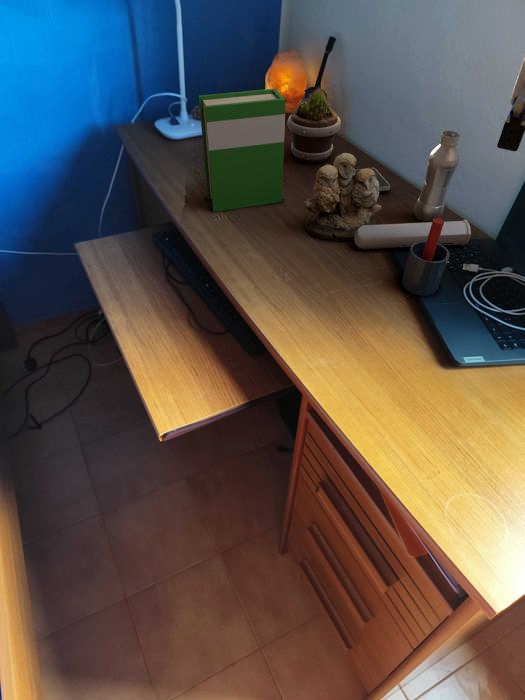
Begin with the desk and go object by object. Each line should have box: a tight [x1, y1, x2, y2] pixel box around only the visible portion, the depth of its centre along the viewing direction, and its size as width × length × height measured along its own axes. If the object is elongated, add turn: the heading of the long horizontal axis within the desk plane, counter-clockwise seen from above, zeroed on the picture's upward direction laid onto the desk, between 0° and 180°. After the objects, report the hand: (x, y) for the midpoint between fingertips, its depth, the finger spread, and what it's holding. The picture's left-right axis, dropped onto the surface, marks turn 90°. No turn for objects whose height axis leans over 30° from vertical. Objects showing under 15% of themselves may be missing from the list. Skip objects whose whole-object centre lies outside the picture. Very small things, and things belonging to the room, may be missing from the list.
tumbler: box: [401, 241, 450, 297], centre depth 92 cm, size 7×7×8 cm
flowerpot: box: [286, 85, 342, 164], centre depth 129 cm, size 14×15×20 cm
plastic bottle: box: [413, 130, 461, 223], centre depth 105 cm, size 6×7×20 cm
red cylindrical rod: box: [421, 217, 445, 261], centre depth 89 cm, size 2×2×14 cm
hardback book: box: [198, 88, 287, 212], centre depth 110 cm, size 18×7×24 cm, turn 106°
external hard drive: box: [355, 167, 391, 194], centre depth 123 cm, size 7×11×2 cm, turn 13°
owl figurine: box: [303, 152, 382, 242], centre depth 103 cm, size 18×12×17 cm, turn 101°
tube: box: [353, 219, 472, 250], centre depth 103 cm, size 5×5×25 cm
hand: (514, 138), depth 78 cm, fingers open, 9 cm apart
